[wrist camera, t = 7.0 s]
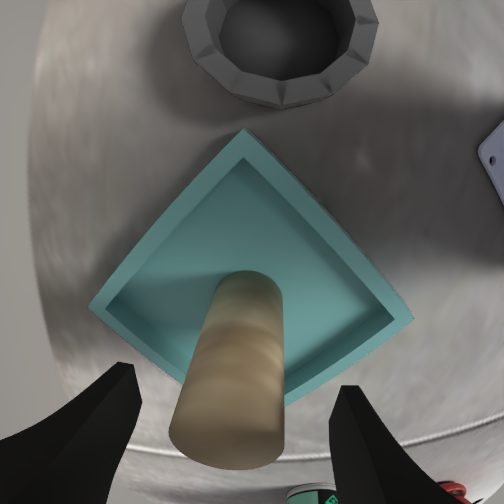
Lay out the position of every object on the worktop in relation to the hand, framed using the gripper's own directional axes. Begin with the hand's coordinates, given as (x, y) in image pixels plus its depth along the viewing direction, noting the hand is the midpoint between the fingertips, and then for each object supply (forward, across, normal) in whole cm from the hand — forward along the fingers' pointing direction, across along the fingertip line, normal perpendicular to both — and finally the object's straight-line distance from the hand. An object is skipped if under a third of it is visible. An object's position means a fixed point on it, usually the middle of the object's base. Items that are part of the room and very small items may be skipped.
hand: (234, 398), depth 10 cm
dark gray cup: (+7, -1, -13) cm, 15 cm away
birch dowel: (+6, 0, 0) cm, 7 cm away
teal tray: (+7, 0, 0) cm, 7 cm away
